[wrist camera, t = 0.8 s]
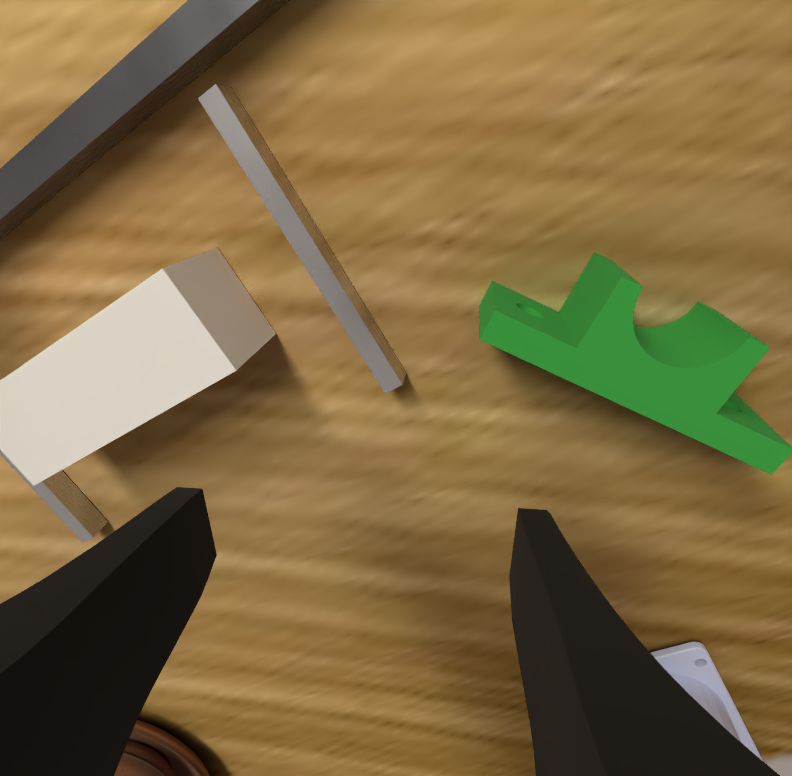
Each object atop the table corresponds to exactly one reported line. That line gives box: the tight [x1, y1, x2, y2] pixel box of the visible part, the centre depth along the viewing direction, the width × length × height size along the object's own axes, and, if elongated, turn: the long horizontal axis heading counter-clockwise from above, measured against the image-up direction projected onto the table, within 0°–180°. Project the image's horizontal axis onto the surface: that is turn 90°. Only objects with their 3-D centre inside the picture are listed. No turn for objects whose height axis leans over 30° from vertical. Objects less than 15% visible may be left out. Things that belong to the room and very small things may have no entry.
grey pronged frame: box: [0, 0, 406, 542], centre depth 19 cm, size 14×37×2 cm, turn 121°
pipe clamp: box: [479, 252, 792, 475], centre depth 18 cm, size 10×4×4 cm, turn 67°
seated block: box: [0, 248, 276, 486], centre depth 21 cm, size 4×11×4 cm, turn 121°
